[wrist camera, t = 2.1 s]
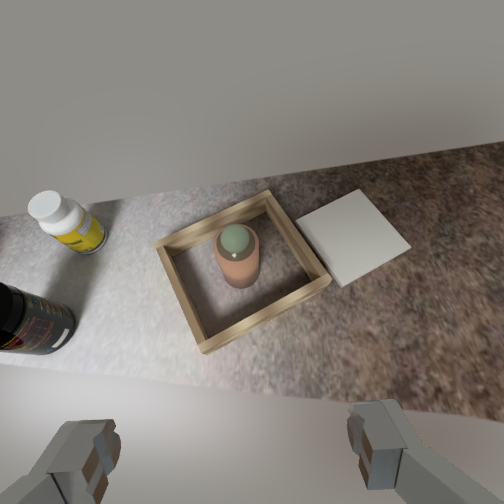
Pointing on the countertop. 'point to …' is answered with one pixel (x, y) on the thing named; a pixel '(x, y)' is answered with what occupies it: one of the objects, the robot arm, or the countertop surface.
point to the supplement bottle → (67, 222)
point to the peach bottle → (238, 255)
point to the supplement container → (32, 323)
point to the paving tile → (351, 237)
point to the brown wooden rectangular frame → (209, 230)
